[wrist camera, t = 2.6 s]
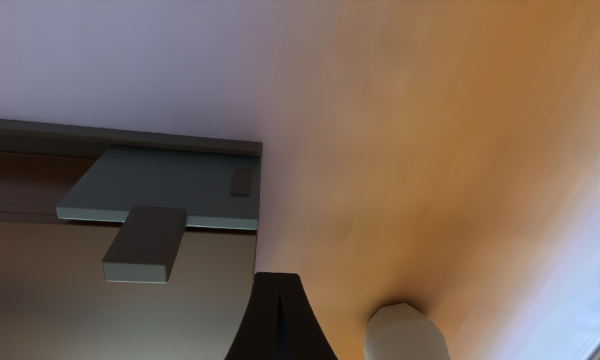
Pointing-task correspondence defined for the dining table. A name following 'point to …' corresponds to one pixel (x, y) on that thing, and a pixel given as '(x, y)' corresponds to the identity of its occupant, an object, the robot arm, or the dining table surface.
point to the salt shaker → (403, 336)
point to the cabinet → (91, 250)
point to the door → (162, 203)
